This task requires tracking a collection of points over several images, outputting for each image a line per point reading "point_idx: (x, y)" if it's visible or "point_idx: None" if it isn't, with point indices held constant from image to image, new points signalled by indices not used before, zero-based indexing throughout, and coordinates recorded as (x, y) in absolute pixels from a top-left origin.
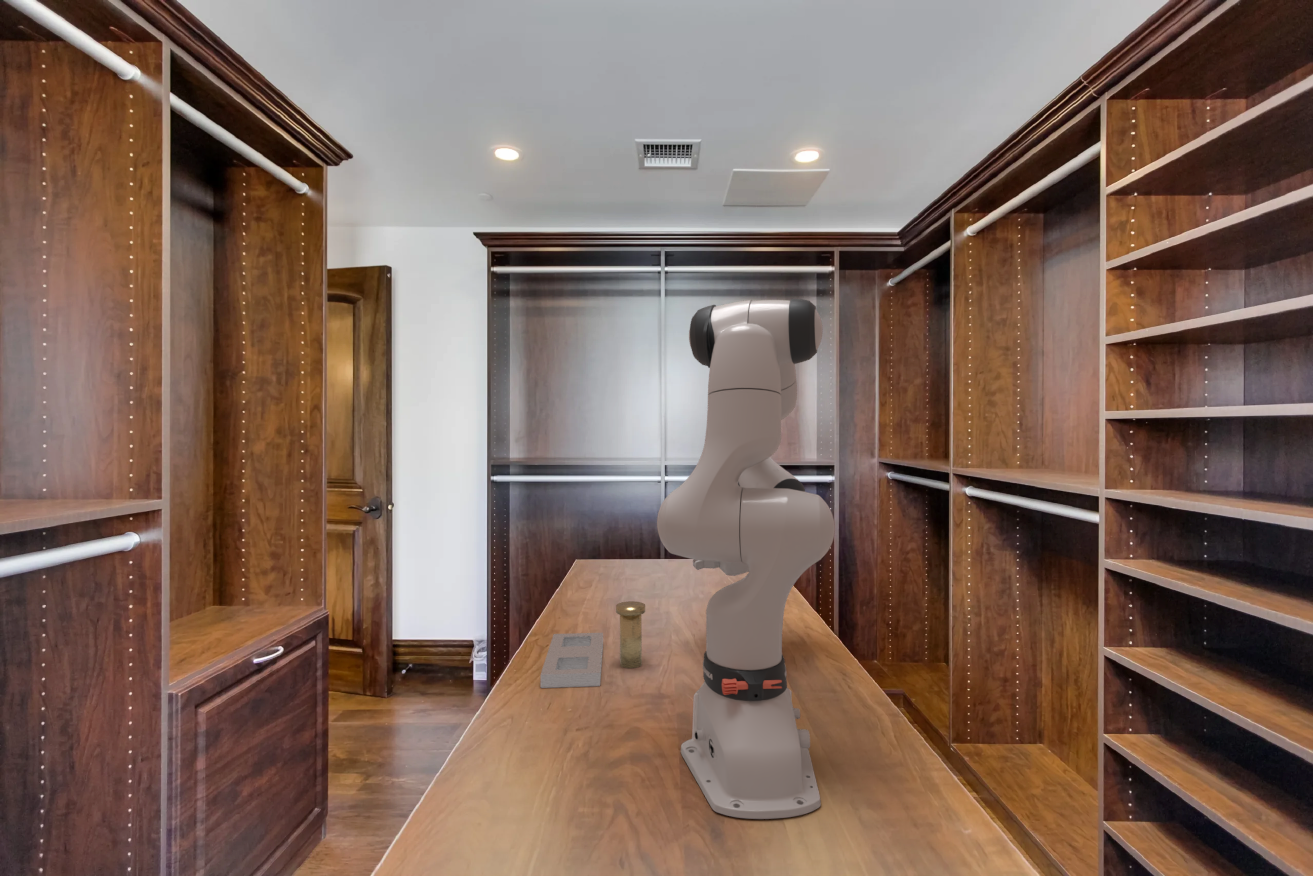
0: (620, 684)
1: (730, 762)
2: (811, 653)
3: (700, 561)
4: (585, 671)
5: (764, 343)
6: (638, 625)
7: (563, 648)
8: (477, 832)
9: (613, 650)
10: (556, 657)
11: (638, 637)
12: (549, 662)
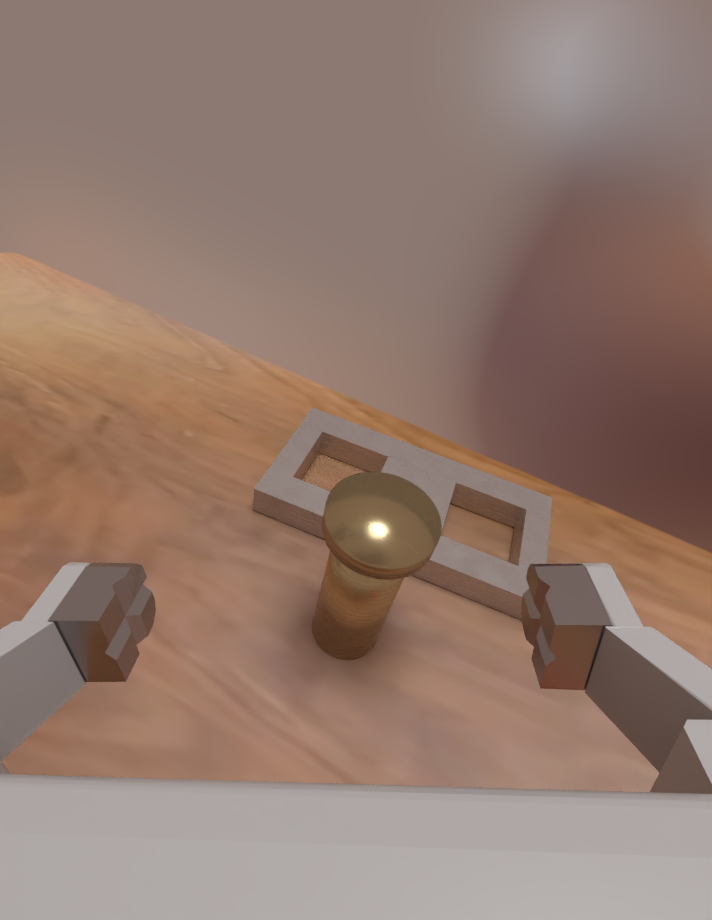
0: (234, 549)
1: None
2: None
3: (43, 595)
4: (280, 469)
5: None
6: (334, 566)
7: (442, 482)
8: None
9: (467, 628)
10: (390, 453)
11: (327, 589)
12: (368, 436)
